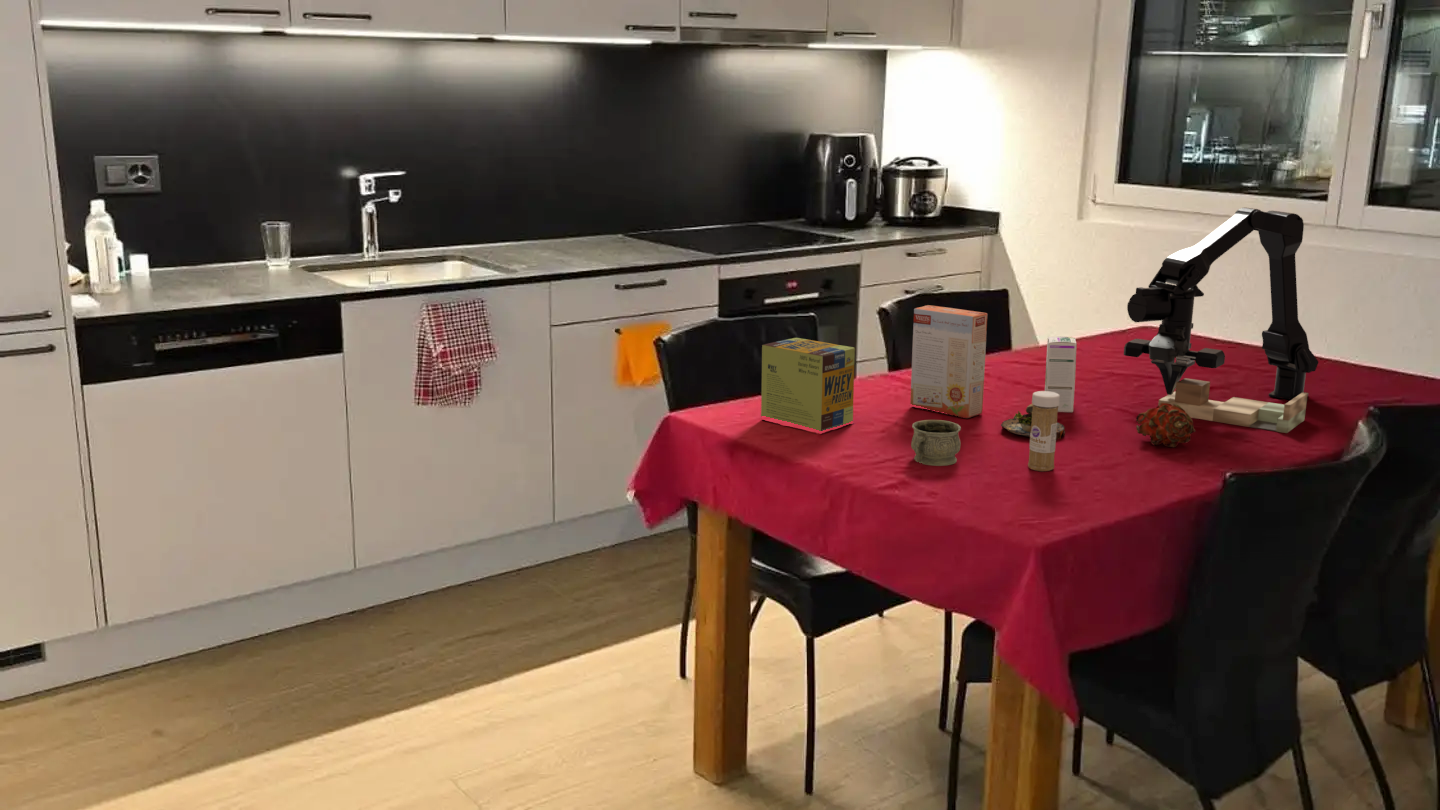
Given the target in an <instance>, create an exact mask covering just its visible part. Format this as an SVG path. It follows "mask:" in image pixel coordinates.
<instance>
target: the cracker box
mask: <svg viewBox="0 0 1440 810" xmlns="http://www.w3.org/2000/svg"><path fill="white" fill-rule="evenodd" d="M912 326H913V329H912V350H911V352H912V354H911V374H910V375H911V376H910V377H911V379H910V403H909V404H912V405H916V406H921V407H924V408H927V409H930V410H935V411H939V412H944V413H947V414H946V415H948V414H951V415H950V416H953V415H955V416H954V417H957V416H958V417H957V418H962V417H963V419H970V418H972V417H976V416H979V415H982V414H983V410H984V409H983V408H984V406H983V404H984V389H985V368H986V349H987V348H986V347H987V328H988V313H987V312H981V311H974V310H967V309H960V308H953V307H945V306H938V305H929V304H927V305H924V306H920V307H915V308H914V309H913V325H912Z"/></svg>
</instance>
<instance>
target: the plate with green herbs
mask: <svg viewBox="0 0 1440 810" xmlns="http://www.w3.org/2000/svg"><path fill="white" fill-rule="evenodd" d="M1032 405H1033V404H1032V403H1031V404H1029V405H1027V407H1026V408H1025V411H1026V412H1025V414H1022V413H1021V412H1020V411H1019V410H1018V411H1017V413H1016V412H1015V414H1014V416H1013V418H1012V417H1011V418H1008V419H1006V420H1003V422H1001V424H1000V426H1001V429H1006V430H1007V431H1008V432H1009V433H1012V434H1015V435H1019V436H1024V437H1030V433H1031V424H1032V411H1033V406H1032ZM1065 428H1066V427H1065V426H1064V424H1063V423H1061V422H1058V421H1057V432H1056V441H1057V440H1062V435H1063V437H1065V436H1066V431H1065Z"/></svg>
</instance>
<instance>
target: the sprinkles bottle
mask: <svg viewBox="0 0 1440 810" xmlns="http://www.w3.org/2000/svg"><path fill="white" fill-rule="evenodd" d="M1059 400H1060V396H1059V394H1057V393H1055V392H1050V391H1045V390H1038V391H1034V392H1032V398H1031V404H1033V405H1032V406H1033V411H1032V424H1031V433H1030V436H1029V446H1028V447H1029V454H1028V455H1029V456H1028V463H1027V466H1028V469H1031V470H1033V471H1035V472H1036V471H1037V472H1050V471H1052V470H1054V469H1055V452H1056V445H1057V444H1056V443H1057V440H1056V432H1057V422H1058V413H1059V412H1058V407H1059Z"/></svg>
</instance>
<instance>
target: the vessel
mask: <svg viewBox="0 0 1440 810" xmlns="http://www.w3.org/2000/svg"><path fill="white" fill-rule="evenodd" d="M911 427H912V429H913V435H912V437H911V438H912V439H911V442H910V443H911V444H910V445H911V449H912V450H913V451H914V453H915V455H914V458H913V460H914V461H915V462H917V463H918V462H919V464H921V463H922V464H921V465H926V466H932V467H933V466H935V467H944V466H945V467H946V466H951V465H954V464H956V463H957V460H958V459H957V457H956V455H957V454H958V453H959V452H960V451H961V439H960V435H959V432H960V431H961V430H962V427H961V425H959V423H955V422H952V421H949V420H942V419H924V420H917V421H915V422H913V423H912V426H911Z"/></svg>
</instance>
